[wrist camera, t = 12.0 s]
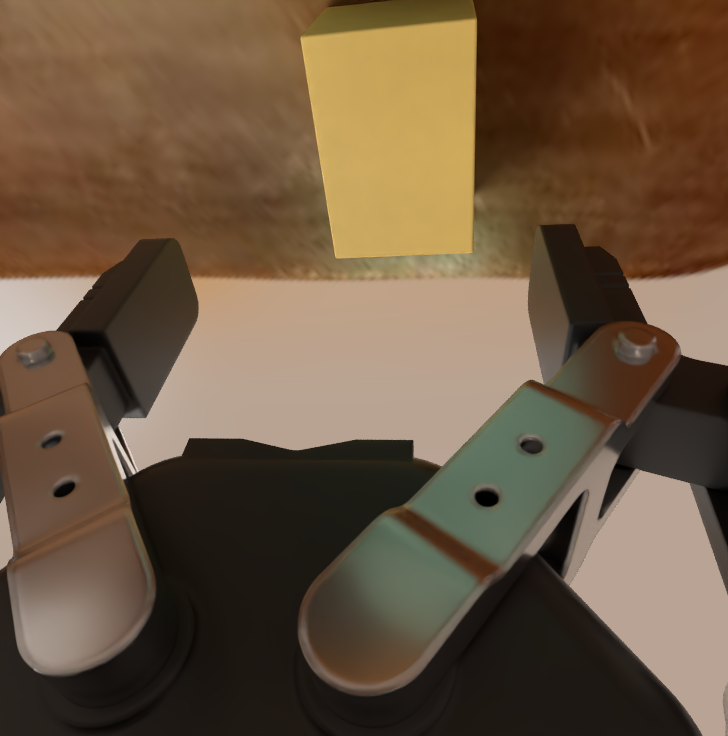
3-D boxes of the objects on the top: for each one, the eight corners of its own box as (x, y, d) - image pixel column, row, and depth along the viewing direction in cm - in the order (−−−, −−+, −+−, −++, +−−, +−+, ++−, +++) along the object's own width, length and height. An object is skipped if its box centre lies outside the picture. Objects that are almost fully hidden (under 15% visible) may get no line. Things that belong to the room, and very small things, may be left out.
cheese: (350, 205, 22) (335, 259, 19) (324, 7, 17) (299, 35, 14) (469, 198, 21) (473, 253, 18) (471, -9, 17) (477, 17, 14)
